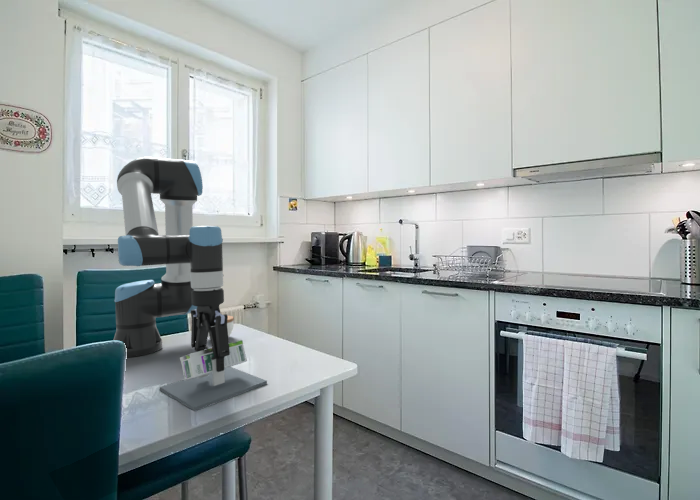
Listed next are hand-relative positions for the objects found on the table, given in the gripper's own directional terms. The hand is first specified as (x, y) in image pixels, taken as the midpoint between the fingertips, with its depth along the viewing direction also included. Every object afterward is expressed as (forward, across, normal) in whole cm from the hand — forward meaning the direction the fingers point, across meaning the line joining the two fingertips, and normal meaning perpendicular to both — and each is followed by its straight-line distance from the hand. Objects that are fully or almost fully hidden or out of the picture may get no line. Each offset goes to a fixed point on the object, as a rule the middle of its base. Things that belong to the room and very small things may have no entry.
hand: (210, 379), depth 93 cm
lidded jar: (+2, +41, -26) cm, 48 cm away
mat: (+2, 0, -1) cm, 2 cm away
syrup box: (-5, 0, -9) cm, 10 cm away
